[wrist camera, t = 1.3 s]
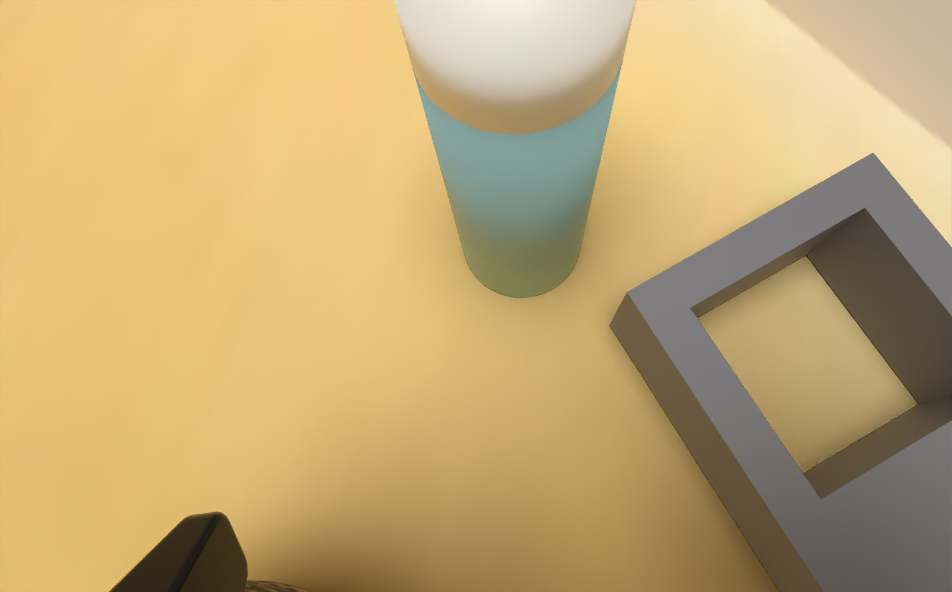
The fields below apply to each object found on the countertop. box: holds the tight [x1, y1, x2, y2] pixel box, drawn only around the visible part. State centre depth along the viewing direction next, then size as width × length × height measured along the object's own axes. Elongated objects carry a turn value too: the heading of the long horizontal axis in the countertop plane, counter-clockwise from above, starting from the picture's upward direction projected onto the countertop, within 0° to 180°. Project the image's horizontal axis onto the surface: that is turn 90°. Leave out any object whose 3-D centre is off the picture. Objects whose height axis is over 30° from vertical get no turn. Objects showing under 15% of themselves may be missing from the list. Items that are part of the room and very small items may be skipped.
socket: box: [610, 153, 952, 592], centre depth 19 cm, size 12×8×4 cm, turn 29°
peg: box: [394, 0, 636, 298], centre depth 17 cm, size 4×4×13 cm
